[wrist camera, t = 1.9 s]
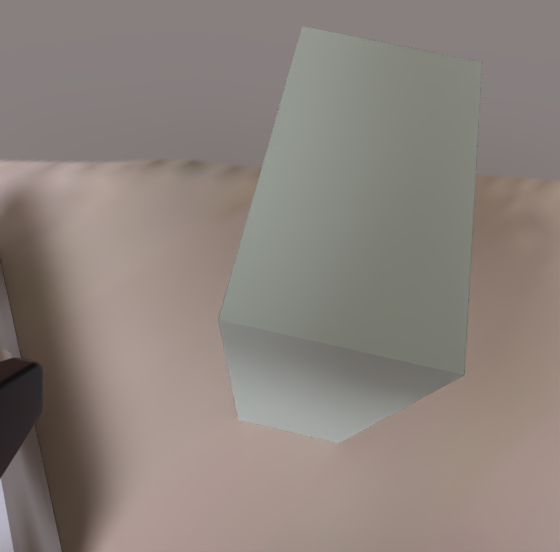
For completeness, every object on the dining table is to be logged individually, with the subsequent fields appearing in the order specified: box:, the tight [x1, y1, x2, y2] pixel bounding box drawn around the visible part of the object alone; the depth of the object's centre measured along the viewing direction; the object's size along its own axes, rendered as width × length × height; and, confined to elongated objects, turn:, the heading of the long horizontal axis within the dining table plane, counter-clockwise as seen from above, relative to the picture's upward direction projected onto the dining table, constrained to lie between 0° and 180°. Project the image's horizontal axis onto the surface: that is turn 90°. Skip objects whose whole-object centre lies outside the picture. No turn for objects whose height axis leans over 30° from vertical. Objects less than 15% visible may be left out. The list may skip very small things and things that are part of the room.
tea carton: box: [218, 26, 482, 443], centre depth 15 cm, size 7×4×12 cm, turn 168°
